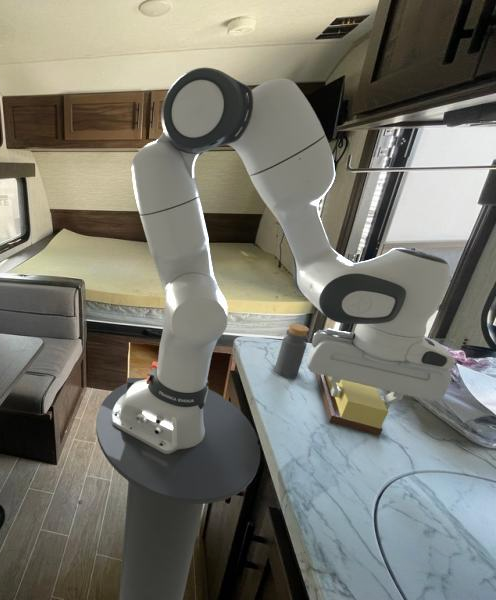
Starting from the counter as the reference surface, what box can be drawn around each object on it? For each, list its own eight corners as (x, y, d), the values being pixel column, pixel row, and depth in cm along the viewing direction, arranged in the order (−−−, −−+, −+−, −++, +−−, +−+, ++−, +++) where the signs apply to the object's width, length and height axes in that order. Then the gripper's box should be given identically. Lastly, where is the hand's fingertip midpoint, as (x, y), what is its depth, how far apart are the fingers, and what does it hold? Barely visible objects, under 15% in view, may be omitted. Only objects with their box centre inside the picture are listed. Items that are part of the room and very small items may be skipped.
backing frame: (329, 422, 76) (331, 415, 75) (316, 372, 95) (318, 366, 94) (379, 436, 72) (383, 429, 72) (355, 381, 91) (358, 375, 90)
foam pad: (340, 417, 61) (347, 400, 59) (332, 390, 68) (338, 375, 67) (380, 428, 59) (388, 411, 57) (367, 399, 66) (374, 383, 64)
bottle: (292, 367, 97) (306, 323, 91) (300, 379, 92) (315, 333, 86) (271, 365, 98) (283, 321, 92) (278, 376, 92) (291, 330, 87)
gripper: (318, 333, 59) (298, 394, 64) (470, 363, 51) (432, 430, 56) (314, 320, 64) (295, 377, 70) (450, 345, 56) (417, 408, 61)
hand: (357, 401), depth 63 cm, fingers closed on foam pad, 6 cm apart
